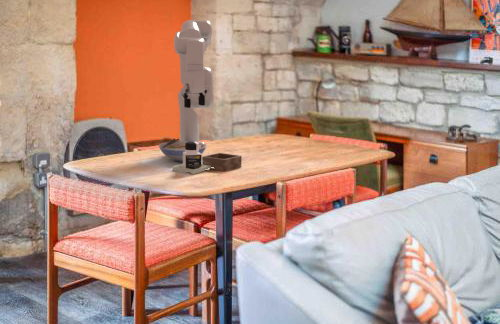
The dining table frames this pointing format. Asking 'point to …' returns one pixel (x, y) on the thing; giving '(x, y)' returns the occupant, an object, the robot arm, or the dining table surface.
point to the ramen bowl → (177, 149)
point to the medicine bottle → (192, 156)
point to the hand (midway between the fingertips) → (194, 106)
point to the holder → (222, 161)
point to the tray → (192, 171)
